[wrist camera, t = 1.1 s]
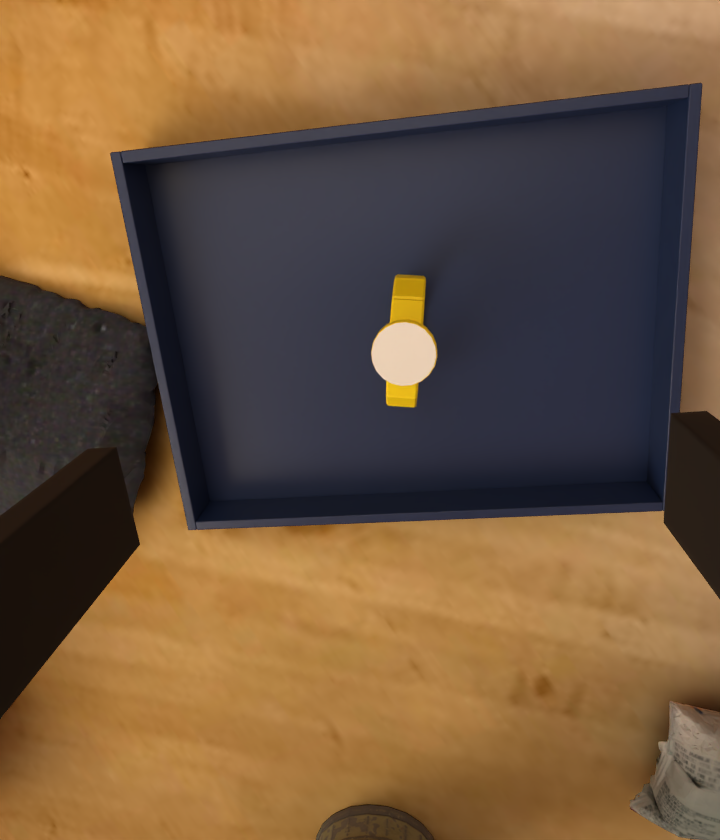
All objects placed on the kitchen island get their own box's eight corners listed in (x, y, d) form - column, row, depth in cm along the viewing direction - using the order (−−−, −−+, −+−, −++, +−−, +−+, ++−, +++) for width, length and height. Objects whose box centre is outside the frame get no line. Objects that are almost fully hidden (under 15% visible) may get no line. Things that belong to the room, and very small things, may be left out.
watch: (430, 389, 33) (431, 428, 28) (376, 385, 33) (367, 423, 28) (439, 271, 31) (443, 288, 26) (383, 268, 31) (374, 284, 26)
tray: (676, 93, 28) (703, 82, 25) (653, 485, 34) (673, 510, 31) (137, 156, 31) (109, 152, 28) (205, 505, 37) (188, 530, 35)
